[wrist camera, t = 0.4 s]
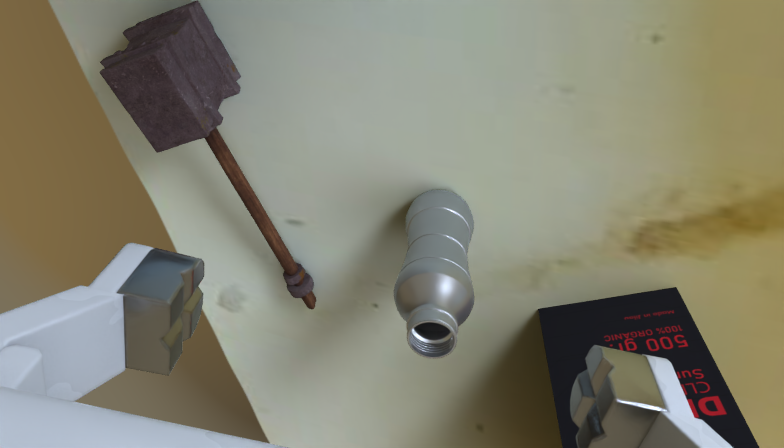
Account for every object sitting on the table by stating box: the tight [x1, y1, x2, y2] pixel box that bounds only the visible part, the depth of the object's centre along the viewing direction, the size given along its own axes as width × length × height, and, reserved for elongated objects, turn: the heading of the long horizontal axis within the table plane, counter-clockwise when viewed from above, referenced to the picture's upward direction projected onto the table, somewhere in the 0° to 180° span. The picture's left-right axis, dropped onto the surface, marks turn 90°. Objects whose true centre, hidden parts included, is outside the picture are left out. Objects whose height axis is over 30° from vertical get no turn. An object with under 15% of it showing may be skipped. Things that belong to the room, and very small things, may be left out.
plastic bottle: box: [394, 190, 474, 358], centre depth 54 cm, size 6×7×20 cm
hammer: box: [100, 1, 316, 309], centre depth 60 cm, size 7×33×10 cm, turn 19°
